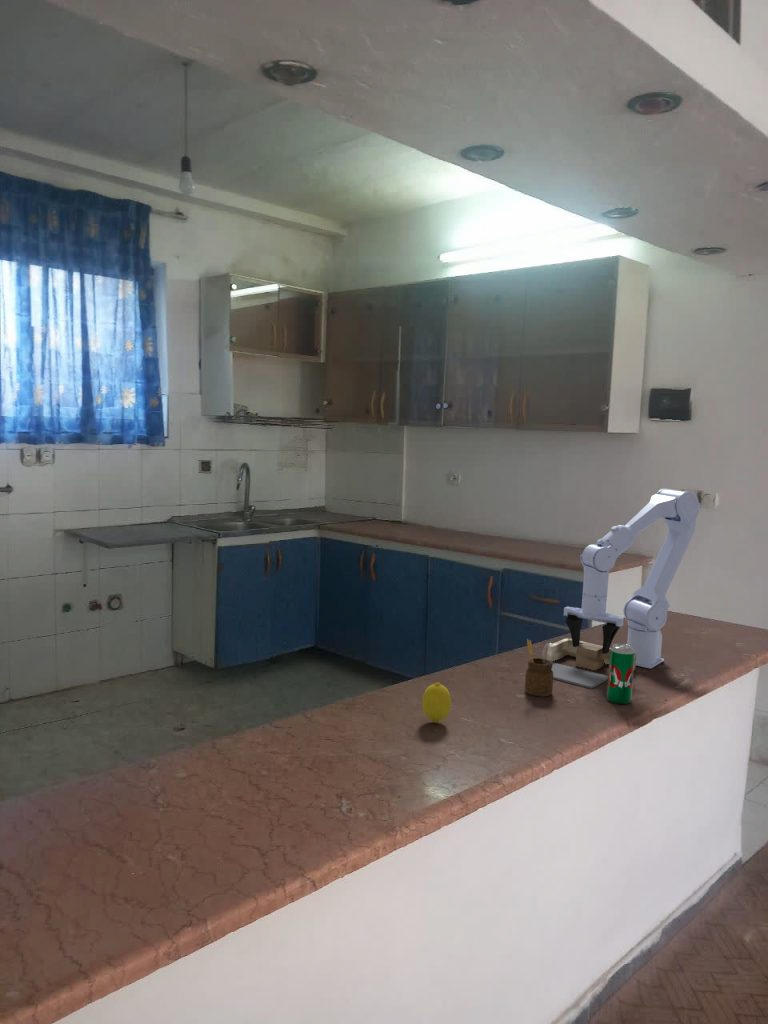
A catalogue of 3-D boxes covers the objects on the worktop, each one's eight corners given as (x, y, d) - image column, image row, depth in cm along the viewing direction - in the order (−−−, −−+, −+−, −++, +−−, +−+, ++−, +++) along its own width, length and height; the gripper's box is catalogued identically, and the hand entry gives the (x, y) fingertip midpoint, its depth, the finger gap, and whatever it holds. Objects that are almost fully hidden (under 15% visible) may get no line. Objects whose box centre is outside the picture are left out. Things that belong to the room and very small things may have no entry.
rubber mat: (551, 663, 190) (551, 661, 190) (609, 678, 181) (610, 676, 181) (531, 673, 182) (531, 671, 182) (591, 688, 173) (591, 686, 173)
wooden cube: (584, 662, 193) (585, 642, 193) (603, 666, 190) (605, 646, 190) (575, 666, 189) (576, 646, 189) (594, 671, 186) (596, 650, 186)
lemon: (453, 720, 151) (456, 681, 150) (443, 730, 146) (446, 689, 145) (427, 715, 153) (429, 676, 152) (416, 724, 148) (418, 684, 147)
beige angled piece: (565, 653, 200) (566, 637, 199) (635, 669, 188) (636, 653, 188) (546, 661, 192) (547, 645, 192) (618, 679, 181) (619, 662, 180)
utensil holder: (557, 696, 168) (561, 641, 166) (532, 698, 165) (535, 643, 164) (543, 687, 173) (546, 634, 172) (518, 689, 171) (521, 636, 170)
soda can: (628, 697, 168) (632, 643, 167) (633, 706, 163) (637, 650, 162) (604, 695, 169) (608, 642, 167) (608, 704, 164) (613, 648, 162)
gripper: (559, 591, 189) (555, 646, 191) (617, 602, 180) (612, 659, 182) (572, 587, 195) (568, 640, 196) (628, 598, 186) (624, 653, 187)
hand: (590, 649), depth 189 cm, fingers open, 7 cm apart
